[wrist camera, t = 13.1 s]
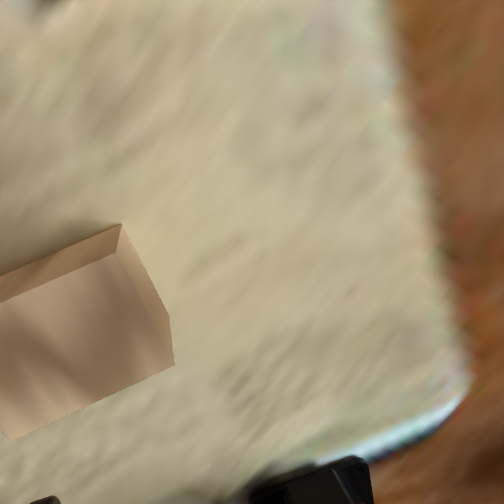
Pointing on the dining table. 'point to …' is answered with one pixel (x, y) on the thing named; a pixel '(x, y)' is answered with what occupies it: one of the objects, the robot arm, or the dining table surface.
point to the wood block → (77, 331)
